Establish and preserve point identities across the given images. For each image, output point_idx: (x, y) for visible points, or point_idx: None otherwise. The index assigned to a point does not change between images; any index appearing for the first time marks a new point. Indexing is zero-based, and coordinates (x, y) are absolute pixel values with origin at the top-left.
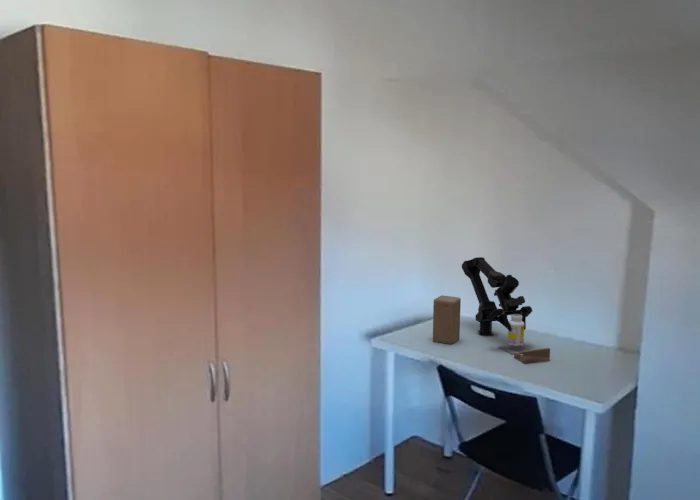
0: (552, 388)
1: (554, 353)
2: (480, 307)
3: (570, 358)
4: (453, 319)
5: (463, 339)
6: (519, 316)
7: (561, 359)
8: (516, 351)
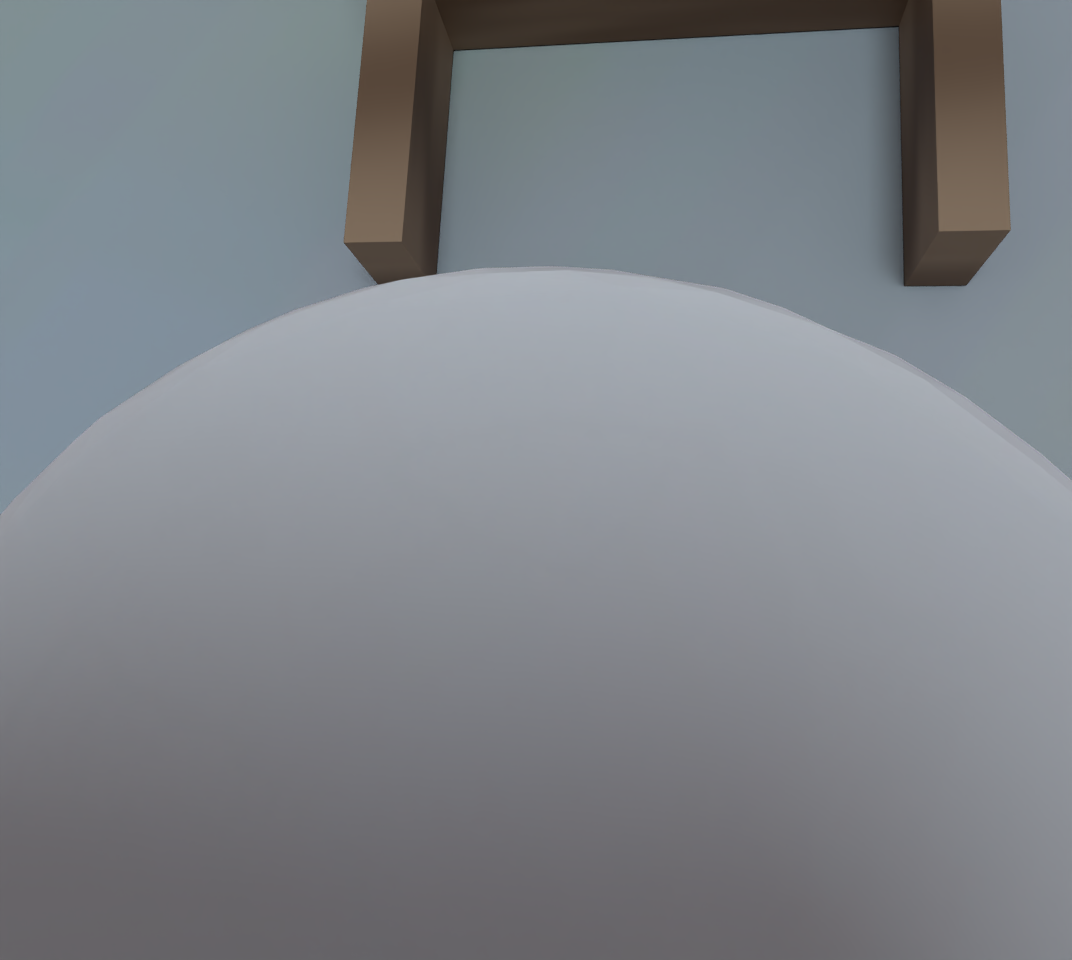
0: None
1: (91, 277)
2: None
3: (44, 10)
4: None
5: None
6: (463, 411)
7: (199, 4)
8: None
